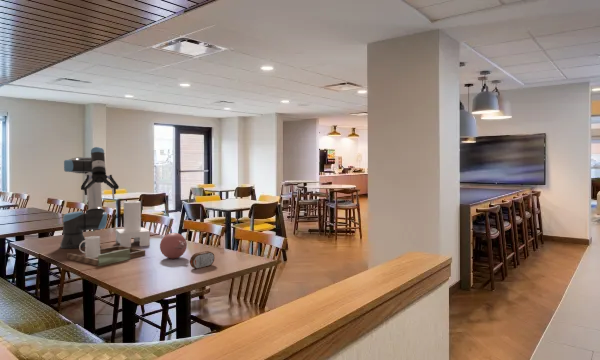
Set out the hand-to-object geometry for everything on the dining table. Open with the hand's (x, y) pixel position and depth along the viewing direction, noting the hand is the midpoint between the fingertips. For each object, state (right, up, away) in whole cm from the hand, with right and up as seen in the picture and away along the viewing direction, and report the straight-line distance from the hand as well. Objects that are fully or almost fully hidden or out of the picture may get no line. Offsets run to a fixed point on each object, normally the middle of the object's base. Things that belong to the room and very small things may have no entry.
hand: (100, 198), depth 233 cm
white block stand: (0, -34, +44) cm, 56 cm away
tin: (+64, -37, -15) cm, 75 cm away
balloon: (+43, -36, +3) cm, 56 cm away
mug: (-10, -36, +6) cm, 38 cm away
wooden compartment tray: (+1, -36, +7) cm, 36 cm away
